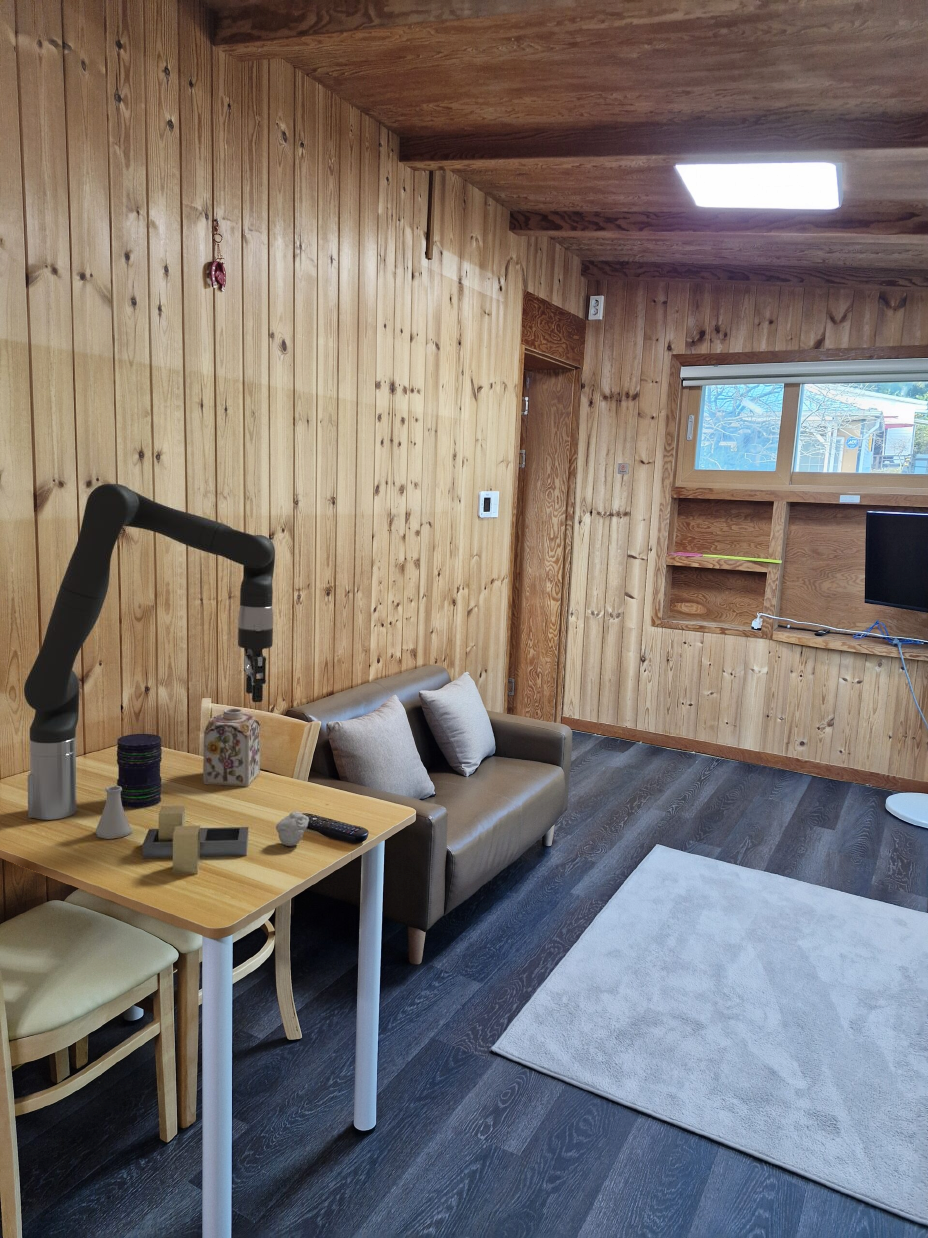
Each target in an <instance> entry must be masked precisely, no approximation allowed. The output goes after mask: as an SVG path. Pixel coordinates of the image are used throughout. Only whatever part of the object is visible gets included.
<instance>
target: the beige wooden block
mask: <svg viewBox="0 0 928 1238" xmlns="http://www.w3.org/2000/svg"><path fill="white" fill-rule="evenodd" d="M200 828H201V825H185V826H176V827H175V830H174V833H173V858H172V875H173V876H177V875H178V876H181V875H183V876H185V875H198V873H199V869H200V863H201V860H200V859H201V857H200Z"/></svg>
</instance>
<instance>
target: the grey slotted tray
mask: <svg viewBox="0 0 928 1238" xmlns="http://www.w3.org/2000/svg"><path fill="white" fill-rule="evenodd" d="M248 846H249V826H236V827H235V826H231V827H230V826H229V827H200V858H203V857H204V858H207V857H211V858H213V857H239V856H240V857H241V856H248V855H247V853H248ZM166 858H167V859H168V858H169V859H171V858H172V859H173V842H159V828H148V830H147V833H146V835H145V838H144V840H143V842H142V859H166Z"/></svg>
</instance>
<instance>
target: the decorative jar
mask: <svg viewBox="0 0 928 1238" xmlns="http://www.w3.org/2000/svg"><path fill="white" fill-rule="evenodd" d="M202 759H203V761H202V762H203V766H202V773H203V774H202V777H203V778H202V780H203V784H204V785H211V786H213V785H214V786H227V787H228V786H230V787H245V788H247V787H249V786H250V785H251V784H252V783H253V781H254V780H256V778H257V777H258V776H259V774H260V773H261V723H260V722H259V720H258V719H257V718H256V717H255V716H253V715H251V714H248V713H243V710H242V709H239V708H232V707H231V708H226V709H225V708H224V710H223V713H222V714H221V713H220V714H217V715H214V716H212V717H211V718H209V720H208V722H207V725H206V726H205V729H204V731H203V758H202Z"/></svg>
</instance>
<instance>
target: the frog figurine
mask: <svg viewBox="0 0 928 1238" xmlns="http://www.w3.org/2000/svg"><path fill="white" fill-rule="evenodd" d="M309 820H310V819H309V816H307V815H305V814H303V813H302V812H300V811H293V812H291V813H289V814H288V815H286V816H285V817H284V818H282V819H281V820H280V821H278V823H277V824H276V825H275V829H276V832H277V833H278V839H279V841H280V843H282V844H283V845H284V846H287V847H294V846H296V845H297V844H299V843H300V841H301V840H302V838H303V836H304V832H306V831H307V828H308V825H309Z"/></svg>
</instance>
